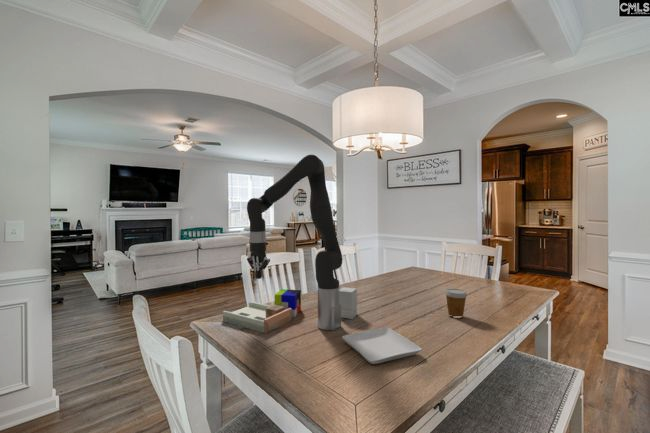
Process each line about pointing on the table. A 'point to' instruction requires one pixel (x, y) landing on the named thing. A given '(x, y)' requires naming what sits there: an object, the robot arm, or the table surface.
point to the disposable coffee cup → (455, 301)
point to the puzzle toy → (289, 300)
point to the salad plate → (381, 345)
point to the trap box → (257, 317)
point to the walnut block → (274, 310)
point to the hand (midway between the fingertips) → (258, 278)
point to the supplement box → (348, 302)
